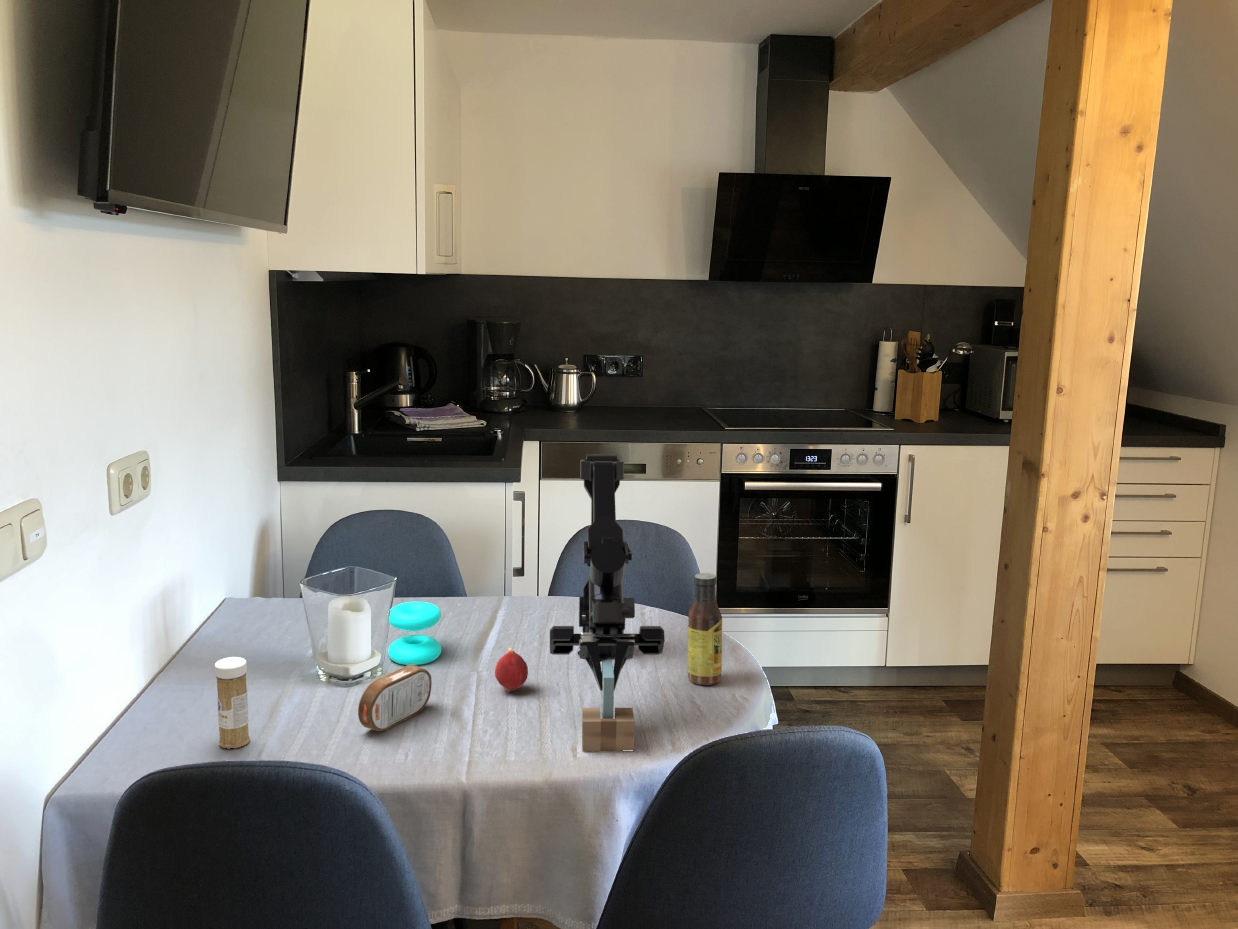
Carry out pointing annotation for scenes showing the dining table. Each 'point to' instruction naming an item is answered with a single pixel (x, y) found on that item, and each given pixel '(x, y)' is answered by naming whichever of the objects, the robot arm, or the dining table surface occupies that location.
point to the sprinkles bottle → (232, 702)
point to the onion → (511, 671)
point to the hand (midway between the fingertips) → (607, 689)
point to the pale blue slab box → (607, 690)
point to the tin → (394, 697)
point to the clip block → (607, 730)
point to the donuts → (414, 646)
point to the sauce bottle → (704, 633)
